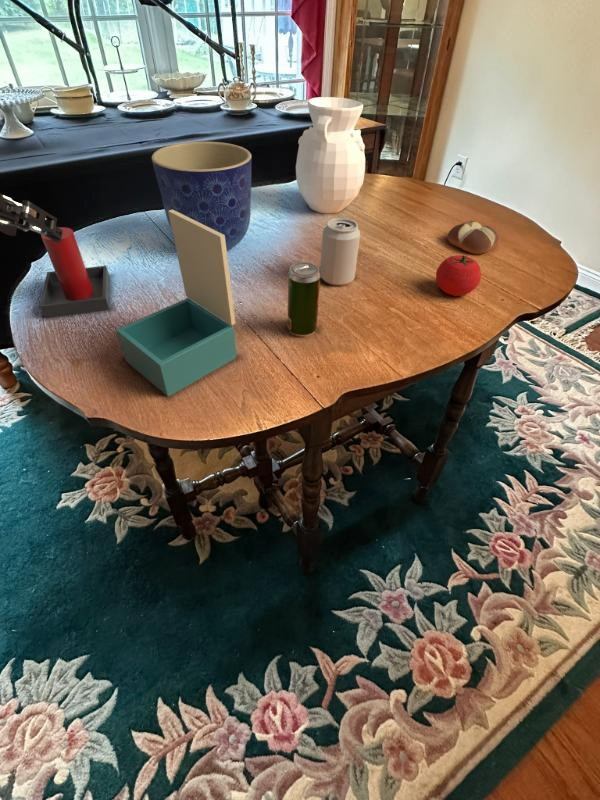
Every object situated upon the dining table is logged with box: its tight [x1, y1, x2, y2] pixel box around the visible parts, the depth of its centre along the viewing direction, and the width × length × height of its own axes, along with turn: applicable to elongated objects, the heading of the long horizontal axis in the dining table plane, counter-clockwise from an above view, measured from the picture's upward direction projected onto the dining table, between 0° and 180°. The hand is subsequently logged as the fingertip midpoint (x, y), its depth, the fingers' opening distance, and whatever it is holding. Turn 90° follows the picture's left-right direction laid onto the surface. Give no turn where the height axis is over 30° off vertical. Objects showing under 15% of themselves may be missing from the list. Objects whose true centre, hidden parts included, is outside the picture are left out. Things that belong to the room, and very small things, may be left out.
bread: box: [446, 220, 499, 255], centre depth 106 cm, size 11×11×5 cm
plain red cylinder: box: [40, 226, 93, 300], centre depth 80 cm, size 5×5×12 cm
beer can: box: [286, 261, 321, 338], centre depth 75 cm, size 5×5×12 cm
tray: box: [39, 265, 111, 319], centre depth 84 cm, size 11×13×3 cm
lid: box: [168, 210, 236, 326], centre depth 66 cm, size 14×12×1 cm
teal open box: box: [115, 297, 237, 397], centre depth 70 cm, size 14×12×6 cm
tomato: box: [435, 254, 482, 297], centre depth 88 cm, size 9×9×8 cm
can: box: [319, 217, 361, 287], centre depth 89 cm, size 8×8×12 cm
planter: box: [151, 141, 253, 250], centre depth 97 cm, size 21×21×19 cm
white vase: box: [295, 96, 366, 214], centre depth 113 cm, size 19×18×25 cm
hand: (37, 233), depth 72 cm, fingers open, 8 cm apart
